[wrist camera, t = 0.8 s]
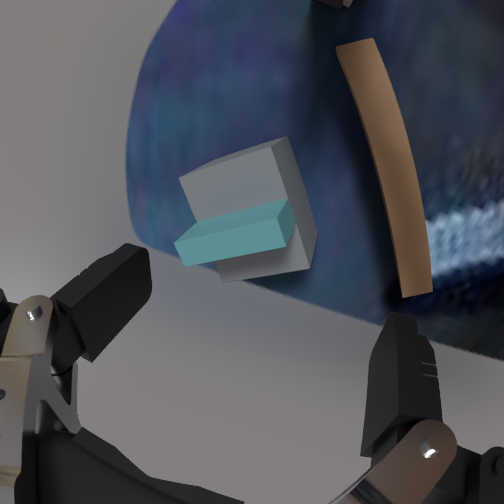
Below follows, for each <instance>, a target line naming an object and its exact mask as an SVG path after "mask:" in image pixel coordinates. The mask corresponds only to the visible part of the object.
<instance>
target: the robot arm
mask: <svg viewBox="0 0 504 504" xmlns="http://www.w3.org/2000/svg"><path fill="white" fill-rule="evenodd" d="M151 292H152V280H151V270H150V261H149V253H148V251H147V249H145V248H143V247H139V246H135V245H132V244H129V243H126V244H124V245H122V246H121V247H120V248H119V249H117V250H116V251H115V252H113V253H111V254H109V255H107V256H104V257H102V258H99V259H98V260H96V261H95V262H94V263H92V264H91V265H90V266H89V267H88V269H87V268H86V269H85V270H83V271H82V272H81V273H80V275H77V276H76V277H75V278H73V279H72V280H71V281H70V282H69V283H67V284H66V285H65V286H64V287H62V288H61V289H60V290H59V291H58V292H56V293H55V294H54V295H53V296H52V297H50V298H48V297H46V296H43V295H36V296H32V297H29V298H27V299H25V300H23V301H22V302H21V303H20V304H16V303H11V302H8V301H7V299H6V297H5V294H4V292H3V290H2V289H1V288H0V504H244V502H243V501H240V500H237V499H234V498H230V497H227V496H224V495H221V494H218V493H215V492H213V491H210V490H207V489H204V488H202V487H199V486H193V485H187V484H181V483H175V482H171V481H166V480H161V479H156V478H152V477H150V476H148V475H146V474H145V473H144V472H142V471H141V470H140V469H139V468H138V467H137V466H135V465H134V464H133V463H132V462H131V461H130V460H129V459H128V458H126V457H125V456H124V455H123V454H122V453H121V452H120V451H119V450H118V449H117V448H116V447H115V446H113V445H111V444H109V443H108V442H106V441H104V440H102V439H101V438H99V437H98V436H96V435H95V434H93V433H91V432H89V431H88V430H87V429H85V428H83V427H81V424H80V422H79V419H78V415H77V375H78V365H77V362H76V360H77V359H78V358H79V357H80V356H81V357H83V358H84V359H86V360H88V361H90V362H91V363H92V362H93V361H94V360H95V359H96V358H97V357H98V355H99V354H100V353H101V352H102V351H103V350H104V349H105V347H106V346H107V345H108V344H109V343H110V342H111V341H112V339H114V337H115V336H116V335H117V334H118V333H119V332H120V331H121V330H122V329H123V327H124V326H125V325H126V324H127V323H128V322H129V321H130V320H131V319H132V317H133V316H134V315H135V314H136V313H137V312H138V311H139V310H140V309H141V308H142V307H143V306H144V305H145V303H146V302H147V301H148V300H149V298H150V295H151ZM435 365H436V361H435V354H434V349H433V348H432V346H431V344H430V343H429V341H428V339H427V338H426V336H421V335H418V330H417V323H416V319H415V317H413V316H409V315H404V314H400V313H395V312H391V313H390V315H389V316H388V318H387V320H386V323H385V325H384V327H383V329H382V331H381V333H380V336H379V337H378V340H377V342H376V344H375V346H374V348H373V350H372V354H371V357H370V362H369V371H368V387H367V400H366V410H365V411H366V412H365V420H364V429H363V439H362V445H361V454H360V456H363V457H371V458H372V460H371V467H370V468H369V469H368V470H367V471H366V472H365V473H364V474H363V475H362V476H361V477H359V478H358V479H357V480H356V481H355V482H354V483H353V484H351V485H350V486H349V487H348V488H347V489H346V490H344V491H343V492H342V493H341V494H339V495H338V496H337V497H336V498H335V499H333V500H332V501H331V502H329V503H328V504H504V448H503V447H493V448H491V449H489V450H488V451H486V452H485V453H484V454H483V455H480V454H478V453H475V452H473V451H470V450H468V449H465V448H462V447H461V446H459V445H457V441H456V438H455V435H454V433H453V432H452V430H451V429H450V428H449V427H448V426H447V425H446V424H444V423H443V420H442V409H441V399H440V390H439V382H438V378H437V375H438V374H437V368H436V366H435Z"/></svg>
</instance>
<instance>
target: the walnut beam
mask: <svg viewBox="0 0 504 504" xmlns="http://www.w3.org/2000/svg"><path fill="white" fill-rule="evenodd" d="M335 48H336V54H337V58H338V60H339V62H340V65H341V67H342V70H343V72H344V75H345V78H346V80H347V83H348V85H349V88H350V91H351V94H352V96H353V99H354V102H355V105H356V108H357V111H358V113H359V116H360V119H361V123H362V126H363V129H364V132H365V135H366V138H367V142H368V145H369V148H370V152H371V155H372V159H373V162H374V166H375V170H376V173H377V177H378V181H379V185H380V189H381V193H382V197H383V202H384V206H385V210H386V215H387V219H388V224H389V229H390V234H391V239H392V245H393V250H394V256H395V262H396V268H397V273H398V278H399V283H400V287H401V292H402V297H403V298H405V297H409V296H414V295H419V294H424V293H428V292H433V289H432V276H431V264H430V254H429V246H428V238H427V230H426V224H425V217H424V211H423V205H422V199H421V194H420V189H419V184H418V179H417V174H416V170H415V165H414V161H413V157H412V153H411V149H410V145H409V141H408V137H407V133H406V130H405V126H404V123H403V119H402V116H401V113H400V109H399V106H398V103H397V100H396V97H395V94H394V91H393V88H392V85H391V82H390V80H389V77H388V74H387V71H386V69H385V66H384V63H383V61H382V58H381V56H380V53H379V51H378V49H377V46H376V44H375V41H374V39H373V38H369V39H364V40H360V41H356V42H352V43H348V44H344V45H340V46H336V47H335Z"/></svg>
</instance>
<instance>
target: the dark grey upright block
mask: <svg viewBox="0 0 504 504" xmlns="http://www.w3.org/2000/svg"><path fill="white" fill-rule="evenodd" d="M317 1H319V2H322V3H324V4H327V5H329V6H332V7H334V8H337V9H339V10H341V9H342V8H343V6H346V7H350V5H351V3H352V1H353V0H317Z"/></svg>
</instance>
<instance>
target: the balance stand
mask: <svg viewBox="0 0 504 504" xmlns="http://www.w3.org/2000/svg"><path fill="white" fill-rule="evenodd" d="M179 180H180V182H181V185H182V187H183V190H184V192H185V195H186V197H187V199H188V202H189V204H190V207H191V209H192V211H193V214H194V216H195V219H196V221H197V223H196V224H194V225H193V226H192V227H191V228H190V229H189V230H188V231H187V232H186V233H184V234H183V235H182V236H181V237H180V238H179V239H178V240H177V241H176V242H175V243H174V244H175V247H176V249H177V251H178V253H179V255H180V258H181V260H182V262H183V264H184V266H190V265H196V264H201V263H206V262H211V261H214V263H215V265H216V268H217V270H218V272H219V275H220V277H221V279H222V281H223V282H224V283H225V282H231V281H237V280H244V279H250V278H256V277H262V276H268V275H274V274H280V273H286V272H292V271H298V270H304V269H310V266H311V262H312V258H313V253H314V249H315V245H316V240H317V236H318V231H317V227H316V224H315V220H314V217H313V214H312V210H311V207H310V204H309V200H308V197H307V194H306V190H305V187H304V184H303V181H302V178H301V175H300V171H299V168H298V165H297V162H296V159H295V156H294V153H293V150H292V147H291V144H290V141H289V138H288V136H286V137H282V138H279V139H276V140H272V141H269V142H266V143H263V144H260V145H257V146H253V147H250V148H247V149H244V150H241V151H238V152H235V153H232V154H229V155H226V156H224V157H221V158H218V159H215V160H212V161H210V162H208V163H206V164H205V165H203V166H201V167H199V168H197V169H195V170H193V171H191V172H189V173H187V174H185V175H184V176H182V177H180V178H179Z"/></svg>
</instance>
